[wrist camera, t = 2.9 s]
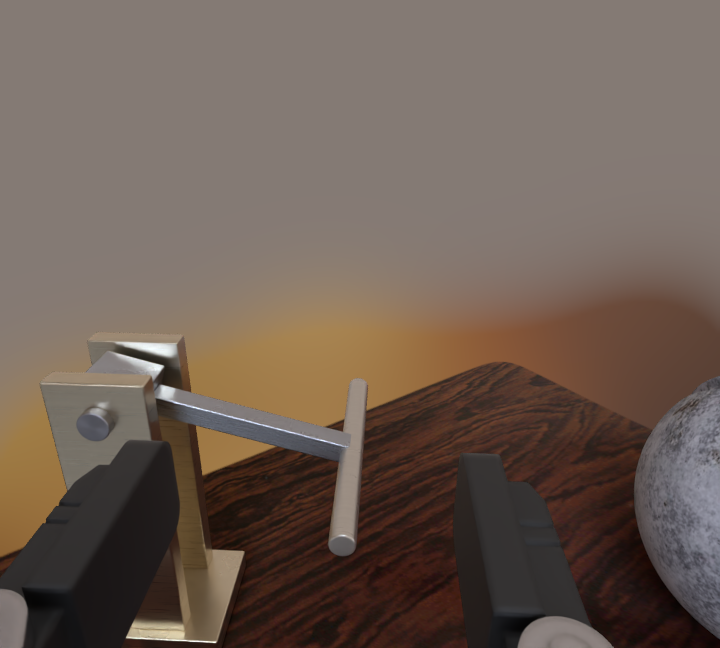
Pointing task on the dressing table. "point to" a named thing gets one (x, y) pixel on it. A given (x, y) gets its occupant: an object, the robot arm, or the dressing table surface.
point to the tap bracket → (192, 537)
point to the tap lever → (271, 435)
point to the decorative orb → (684, 502)
